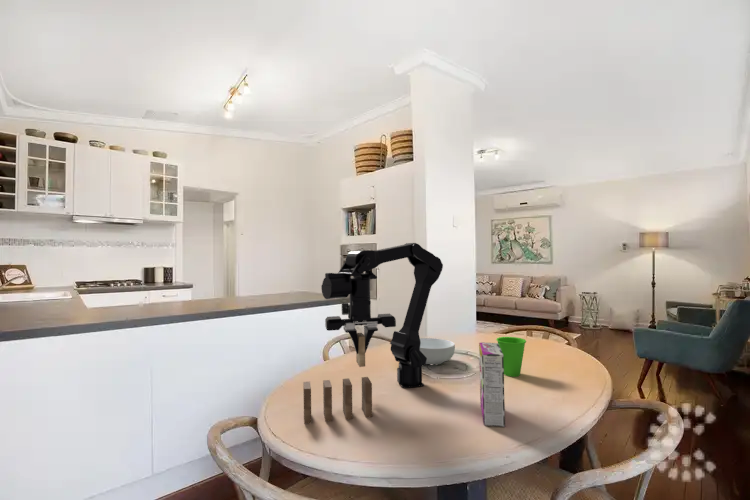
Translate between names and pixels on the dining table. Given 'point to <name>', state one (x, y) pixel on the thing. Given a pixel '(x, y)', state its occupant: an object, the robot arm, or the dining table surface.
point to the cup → (512, 354)
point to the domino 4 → (361, 350)
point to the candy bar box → (492, 384)
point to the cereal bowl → (436, 350)
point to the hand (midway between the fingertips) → (360, 353)
